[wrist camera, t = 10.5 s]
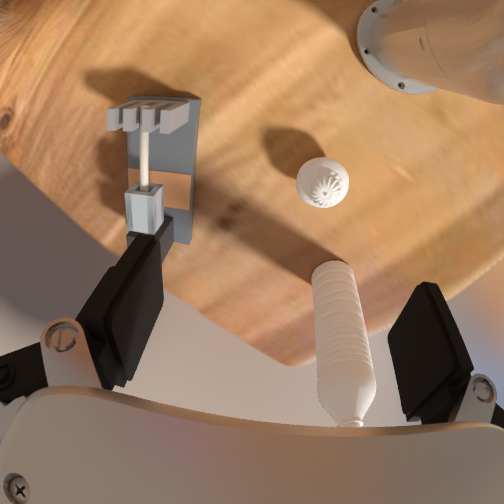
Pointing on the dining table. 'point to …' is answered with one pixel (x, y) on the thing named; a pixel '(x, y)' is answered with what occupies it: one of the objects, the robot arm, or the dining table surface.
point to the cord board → (162, 157)
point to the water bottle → (341, 345)
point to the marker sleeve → (144, 208)
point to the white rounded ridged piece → (322, 182)
